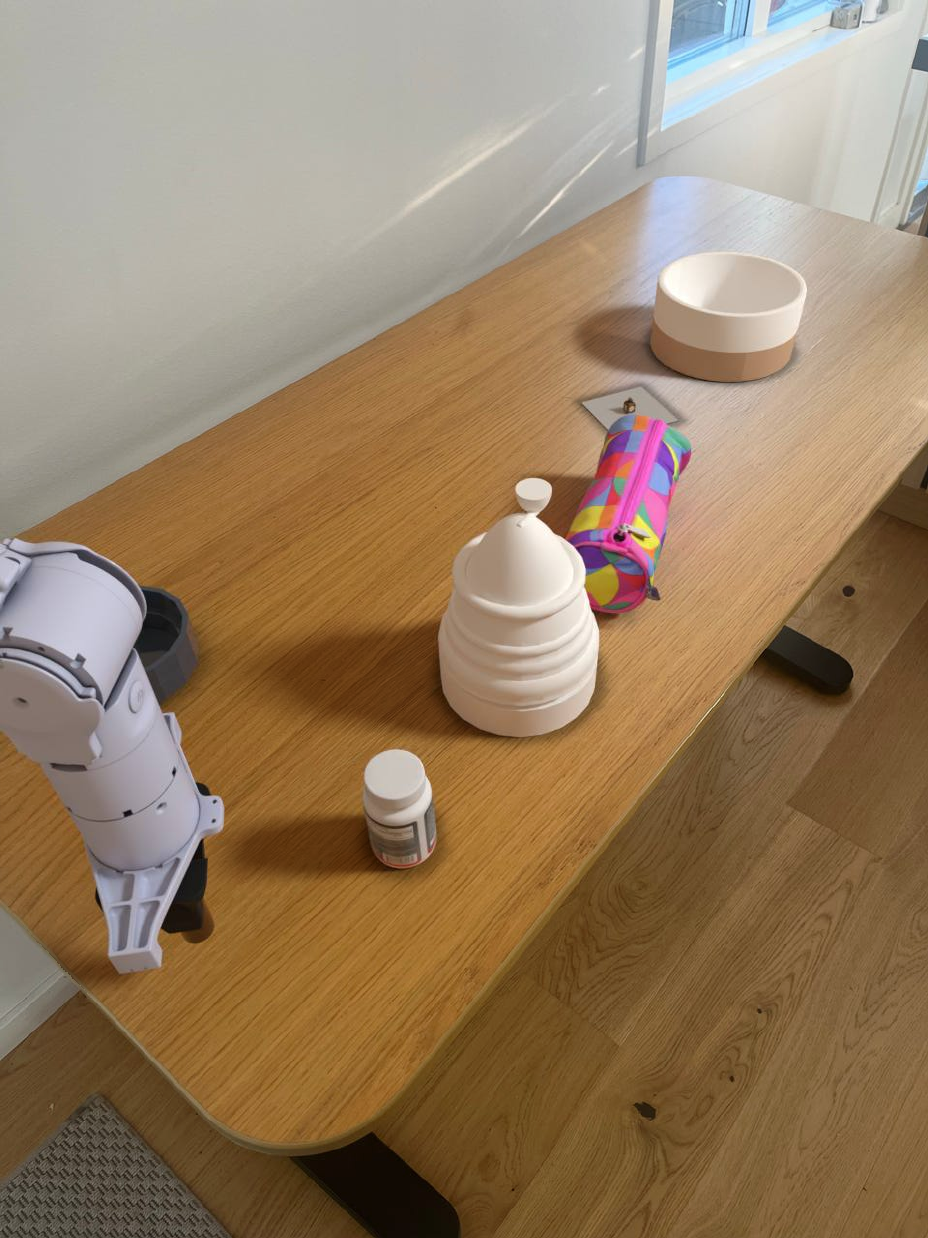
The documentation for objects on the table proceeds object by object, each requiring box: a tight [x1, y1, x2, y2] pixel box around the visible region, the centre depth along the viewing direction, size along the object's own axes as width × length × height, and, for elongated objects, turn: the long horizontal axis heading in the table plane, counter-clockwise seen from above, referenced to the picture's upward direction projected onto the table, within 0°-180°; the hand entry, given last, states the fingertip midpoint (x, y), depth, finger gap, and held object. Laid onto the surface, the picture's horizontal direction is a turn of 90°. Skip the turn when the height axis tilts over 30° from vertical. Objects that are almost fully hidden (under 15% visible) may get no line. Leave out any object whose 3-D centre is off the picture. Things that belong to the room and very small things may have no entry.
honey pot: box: [437, 477, 600, 738], centre depth 70 cm, size 13×13×18 cm
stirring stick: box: [179, 898, 215, 945], centre depth 53 cm, size 2×2×10 cm
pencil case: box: [564, 415, 692, 614], centre depth 84 cm, size 22×9×9 cm, turn 163°
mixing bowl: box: [133, 584, 200, 704], centre depth 76 cm, size 11×11×4 cm
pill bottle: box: [361, 748, 438, 869], centre depth 62 cm, size 5×5×8 cm
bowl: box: [649, 251, 808, 383], centre depth 110 cm, size 17×17×8 cm
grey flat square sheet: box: [581, 386, 679, 431], centre depth 103 cm, size 8×8×2 cm
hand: (186, 906), depth 54 cm, fingers closed on stirring stick, 2 cm apart
